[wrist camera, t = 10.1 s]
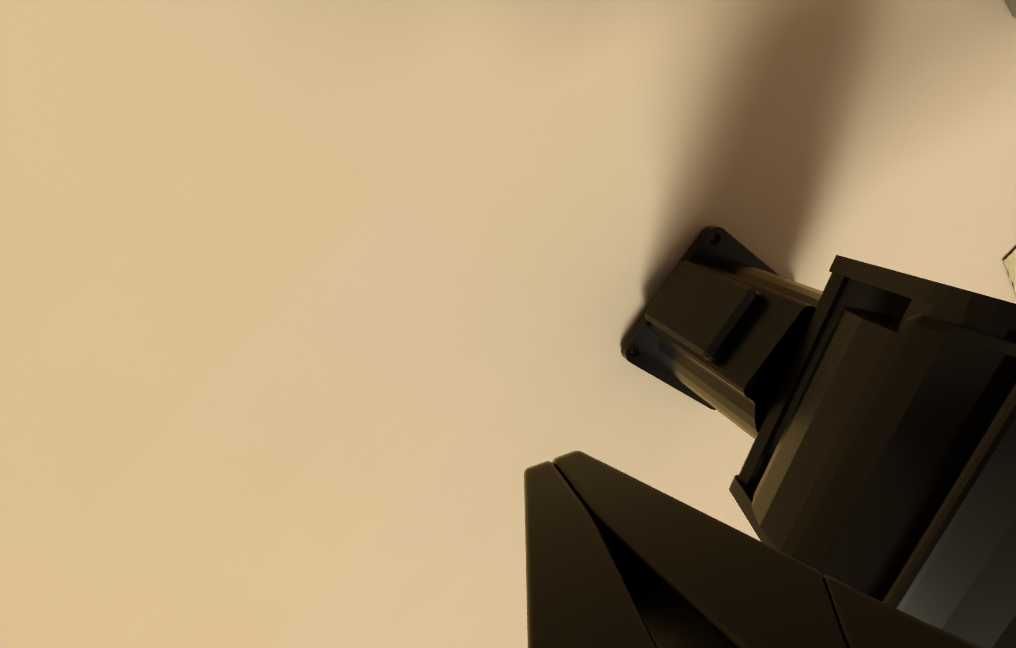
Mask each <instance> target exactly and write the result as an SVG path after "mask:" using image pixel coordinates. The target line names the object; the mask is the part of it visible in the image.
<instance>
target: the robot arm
mask: <svg viewBox="0 0 1016 648" xmlns="http://www.w3.org/2000/svg"><path fill="white" fill-rule="evenodd" d="M713 234H714V239H713V241H712V242H711V243H710V238H711V236H712V235H713ZM829 271H830V272H832V274H831V276H830V278H829V280H828V282H827V285H826V287H825V289H824V291H820V290H817V289H814V288H811V287H809V286H806V285H803V284H800V283H798V282H795V281H792V280H789V279H786V278H784V277H781V276H779V275H778V274H777V273H775V272H774V271H773V270H772V269H771V268H769V267H768V266H767V265H766V264H765V263H763V262H762V261H761V260H760V259H759V258H757V257H756V256H755V255H754V254H753V253H751V252H750V251H749V250H748V249H747V248H745V247H744V246H743V245H742V244H741V243H739V242H738V241H737V240H736V239H735V238H733V237H732V236H731V235H730V234H729V233H727V232H726V231H725V230H724V229H722V228H720V227H717V226H714V225H709V226H707V227H705V228H704V229H703V230H702V231H701V232H700V234H699V235H698V237H697V238H696V240H695V241H694V242H693V244H692V245H691V247H690V248H689V250H688V251H687V253H686V254H685V255H684V257H683V258H682V260H681V261H680V263H679V264H678V265H677V267H676V268H675V270H674V271H673V273H672V274H671V275H670V277H669V278H668V280H667V281H666V283H665V284H664V286H663V287H662V288H661V290H660V291H659V293H658V294H657V296H656V297H655V299H654V300H653V301H652V303H651V304H650V306H649V307H648V309H647V310H646V312H645V313H644V315H643V316H642V318H641V319H640V320H639V322H638V323H637V325H636V326H635V328H634V329H633V331H632V332H631V333H630V335H629V336H628V338H627V339H626V341H625V342H624V343H623V346H622V348H621V353H622V356H623V357H624V358H625V359H626V360H628V361H629V362H630V363H632V364H634V365H635V366H637V367H639V368H641V369H642V370H644V371H646V372H648V373H649V374H651V375H653V376H655V377H656V378H658V379H660V380H662V381H663V382H665V383H667V384H669V385H670V386H672V387H674V388H675V389H677V390H679V391H681V392H682V393H684V394H686V395H688V396H689V397H691V398H693V399H695V400H696V401H698V402H700V403H702V404H703V405H705V406H707V407H708V408H710V409H713V410H716V409H717V410H718V411H719V412H720V413H722V414H723V415H724V416H726V417H727V418H728V419H730V420H731V421H732V422H733V423H735V424H736V425H737V426H739V427H740V428H741V429H742V430H744V431H745V432H746V433H748V434H749V435H750V436H752V437H753V438H754V439H755V441H754V443H753V445H752V447H751V449H750V451H749V454H748V456H747V458H746V460H745V462H744V464H743V467H742V469H741V471H740V473H739V475H735V477H734V479H733V481H732V483H731V486H730V488H729V490H730V492H731V493H732V495H733V497H734V498H735V500H736V502H737V503H738V505H739V506H740V508H741V510H742V511H743V513H744V514H745V516H746V518H747V519H748V521H749V523H750V524H751V526H752V527H753V529H754V531H755V532H756V534H757V535H758V537H759V539H760V540H761V542H760V541H758V540H756V539H754V538H752V537H751V536H749V535H747V534H745V533H743V532H741V531H739V530H737V529H735V528H733V527H731V526H729V525H727V524H725V523H723V522H721V521H719V520H717V519H715V518H713V517H711V516H709V515H707V514H705V513H703V512H701V511H699V510H697V509H695V508H693V507H691V506H689V505H687V504H685V503H683V502H681V501H679V500H677V499H675V498H673V497H671V496H669V495H667V494H665V493H663V492H661V491H659V490H657V489H655V488H653V487H651V486H649V485H647V484H645V483H643V482H641V481H639V480H637V479H635V478H633V477H631V476H629V475H627V474H625V473H623V472H621V471H619V470H617V469H615V468H613V467H611V466H609V465H607V464H605V463H603V462H601V461H599V460H597V459H595V458H593V457H591V456H589V455H587V454H585V453H583V452H581V451H573V452H570V453H568V454H565V455H562V456H559V457H557V458H555V459H554V460H553V462H549V461H546V462H543V463H540V464H538V465H535V466H532V467H529V468H527V469H526V470H525V472H524V491H525V537H526V583H527V629H528V648H1016V304H1014V303H1011V302H1007V301H1003V300H1000V299H996V298H992V297H989V296H985V295H982V294H978V293H974V292H971V291H967V290H963V289H960V288H956V287H952V286H949V285H945V284H941V283H938V282H934V281H930V280H927V279H923V278H919V277H916V276H912V275H908V274H905V273H901V272H897V271H894V270H890V269H886V268H883V267H879V266H875V265H872V264H868V263H864V262H860V261H857V260H853V259H849V258H846V257H842V256H838V255H836V257H835V259H834V261H833V263H832V266H831V268H830V270H829ZM635 347H637V349H636V351H635V352H634V353H632V354H631V351H632V349H634V348H635Z"/></svg>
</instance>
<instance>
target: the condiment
mask: <svg viewBox="0 0 1016 648" xmlns="http://www.w3.org/2000/svg"><path fill="white" fill-rule="evenodd" d="M1003 262H1004V265H1005V267H1006V269H1007V270H1008V273H1009V278H1010V280H1011V281H1012V283H1013V285H1014V289H1015V293H1016V249H1015V250H1014V251H1013V252H1012V253H1011V254H1010V255H1009V256H1008V257H1007V258H1006V259H1005V260H1004V261H1003Z"/></svg>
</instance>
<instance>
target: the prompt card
mask: <svg viewBox="0 0 1016 648" xmlns="http://www.w3.org/2000/svg"><path fill="white" fill-rule="evenodd" d="M1005 1H1006V3H1007V5H1008V7H1009V9H1010V11H1011V13H1012V15H1013V17H1014V18H1015V17H1016V0H1005Z"/></svg>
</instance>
